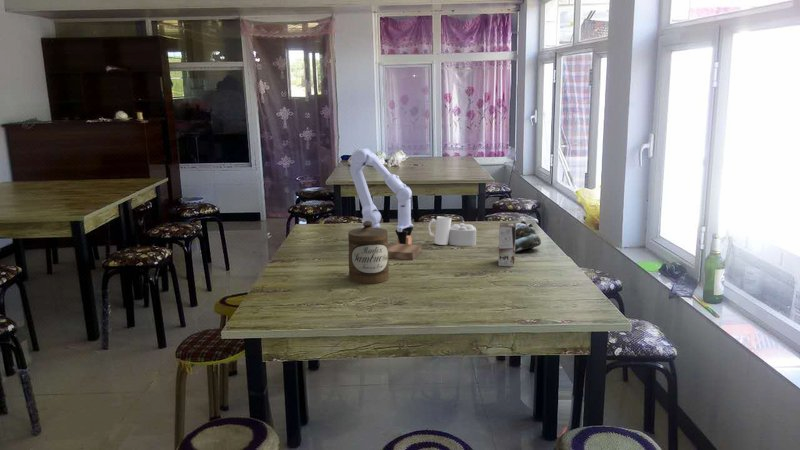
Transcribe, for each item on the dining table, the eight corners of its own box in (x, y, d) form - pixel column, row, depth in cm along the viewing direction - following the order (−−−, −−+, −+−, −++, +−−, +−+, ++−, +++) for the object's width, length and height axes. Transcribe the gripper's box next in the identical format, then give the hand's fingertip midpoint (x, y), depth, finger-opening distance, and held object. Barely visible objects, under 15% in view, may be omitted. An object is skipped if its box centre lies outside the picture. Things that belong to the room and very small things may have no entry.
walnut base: (381, 257, 271) (380, 250, 270) (391, 249, 284) (391, 243, 283) (412, 260, 266) (412, 253, 266) (422, 252, 279) (422, 245, 279)
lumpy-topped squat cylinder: (476, 246, 289) (477, 227, 287) (447, 245, 289) (447, 226, 288) (474, 240, 299) (475, 222, 297) (446, 240, 300) (447, 222, 298)
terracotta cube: (397, 248, 286) (397, 237, 285) (401, 245, 291) (400, 234, 290) (408, 249, 285) (408, 238, 284) (411, 246, 289) (411, 235, 288)
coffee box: (514, 266, 255) (515, 227, 252) (498, 266, 256) (499, 226, 253) (515, 260, 264) (516, 222, 261) (499, 260, 265) (500, 221, 262)
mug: (448, 243, 295) (452, 217, 293) (447, 246, 289) (451, 220, 287) (427, 240, 297) (430, 214, 295) (425, 242, 290) (428, 216, 288)
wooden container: (353, 285, 232) (352, 226, 227) (345, 274, 246) (344, 218, 241) (393, 282, 236) (392, 223, 231) (383, 271, 250) (382, 216, 245)
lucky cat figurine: (508, 253, 275) (499, 223, 278) (509, 258, 286) (500, 228, 290) (542, 244, 273) (533, 213, 276) (542, 249, 285) (533, 219, 288)
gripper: (408, 218, 277) (408, 248, 280) (417, 212, 290) (417, 241, 293) (392, 217, 279) (392, 247, 282) (402, 211, 293) (403, 240, 295)
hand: (404, 244), depth 288 cm, fingers closed on terracotta cube, 5 cm apart
